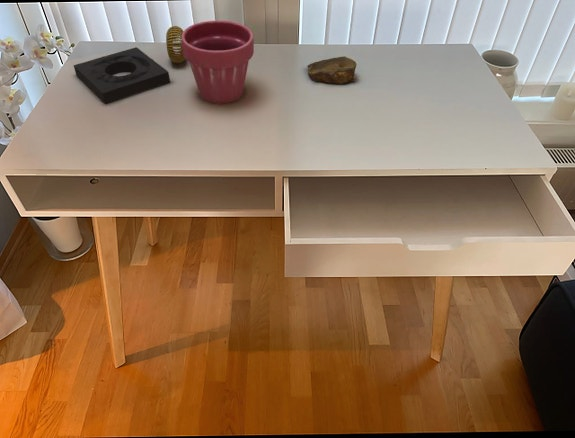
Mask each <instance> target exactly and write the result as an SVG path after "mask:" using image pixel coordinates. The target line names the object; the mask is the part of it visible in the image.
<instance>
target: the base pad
mask: <svg viewBox="0 0 575 438" xmlns="http://www.w3.org/2000/svg"><path fill="white" fill-rule="evenodd" d="M73 69H74V73H75V76H76V77H77V78H78V79H79V80H80V81H81V82H82V83H83V84H84V85H85V86H86V87H87V88H88V89H89V90H90V91H91V92H93V94H95V95H96V96H97V97H98V98H99V99H100V100H101V101H102V102H103V103H104V104H105V105H107V104H110V103H113V102H117V101H118V100H122V99H124V98H128V97H131V96H134V95H136V94H137V95H138V94H141V93H143V92H145V91H149V90H151V89H155V88H157V87H160V86H163V85H166V84H169V83H171V80H170V79H171V78H170V73H169V71H168V70H167V69H165V68H164V67H163V66H162V65H161V64H159V63H158V62H156V61H155V60H154V59H153V58H151V57H150V56H148V55H147V54H146V53H145V52H143V51H142V50H141V49H140V48H138V47H137V46H136V47H132V48H129V49H125V50H121V51H118V52H115V53H112V54H107V55H105V56H101V57H97V58H94V59H90V60H87V61H84V62H80V63H76V64H74V65H73ZM118 73H127V74H125V75H124V74H123V75H116V74H118ZM114 74H115V75H114Z"/></svg>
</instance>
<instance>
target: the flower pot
mask: <svg viewBox="0 0 575 438" xmlns="http://www.w3.org/2000/svg"><path fill="white" fill-rule="evenodd" d="M183 31H184V32H183V33H182V39H181V40H182V49H183V55H184V57H185V61H187V62H188V63H189V66H190V69H191V71H192V75H193V77H194V81H195V84H196V86H197V89H198V92H199V96H200V97H201V98H202V99H203V100H204V101H206V102H209V103H212V104H228V103H232V102H235V101H237V100H239V99H241V97H242V96H243V94H244V88H245V83H246V79H247V72H248V67H249V61H250V60H251V59H252V58H253V55H254V52H255V49H254V47H255V44H254V34H253V32H252V30H251V29H250V28H249V27H247V26H245V24H241V23H239V22H235V21H230V20H207V21H200V22H196V23H194V24H192V25H189V26H188V27H187V28H184V29H183Z"/></svg>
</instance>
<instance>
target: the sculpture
mask: <svg viewBox="0 0 575 438" xmlns="http://www.w3.org/2000/svg"><path fill="white" fill-rule="evenodd" d="M183 32H184V29H183V28H182V27H180V26H178V25H172V26H171V27H169V28H168V29H167V31H166V33H165V34H166V35H165V44H166V52H167V55H168V58H169V59H170V61H171V62H173V63H175V64H182V63H184V62H185V61H186V59H185V57H184V55H183V49H182V33H183Z"/></svg>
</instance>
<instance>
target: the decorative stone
mask: <svg viewBox="0 0 575 438" xmlns="http://www.w3.org/2000/svg"><path fill="white" fill-rule="evenodd" d="M306 67H307V73H308V75H309V76H310V78H311V79H312V80H313V81H315V82H325V83H329V84H335V85H338V84H339V85H340V84H341V85H347V84H348V83H349V82H353V81H355V72H356V68H357V62H356V61H355V60H354V59H352V58H350V57H347V56H345V55H343V56H338V57H331V58H328V59H322V60H318V61H314V62H312V63H309V64H308V65H307V66H306Z"/></svg>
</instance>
